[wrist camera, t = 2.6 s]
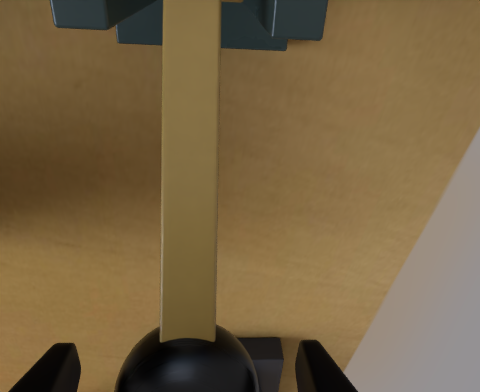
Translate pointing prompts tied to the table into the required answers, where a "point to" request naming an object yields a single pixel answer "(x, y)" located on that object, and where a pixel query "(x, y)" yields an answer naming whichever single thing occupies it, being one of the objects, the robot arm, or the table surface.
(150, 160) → the table surface
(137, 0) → the switch bracket
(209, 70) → the switch lever
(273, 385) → the button box
